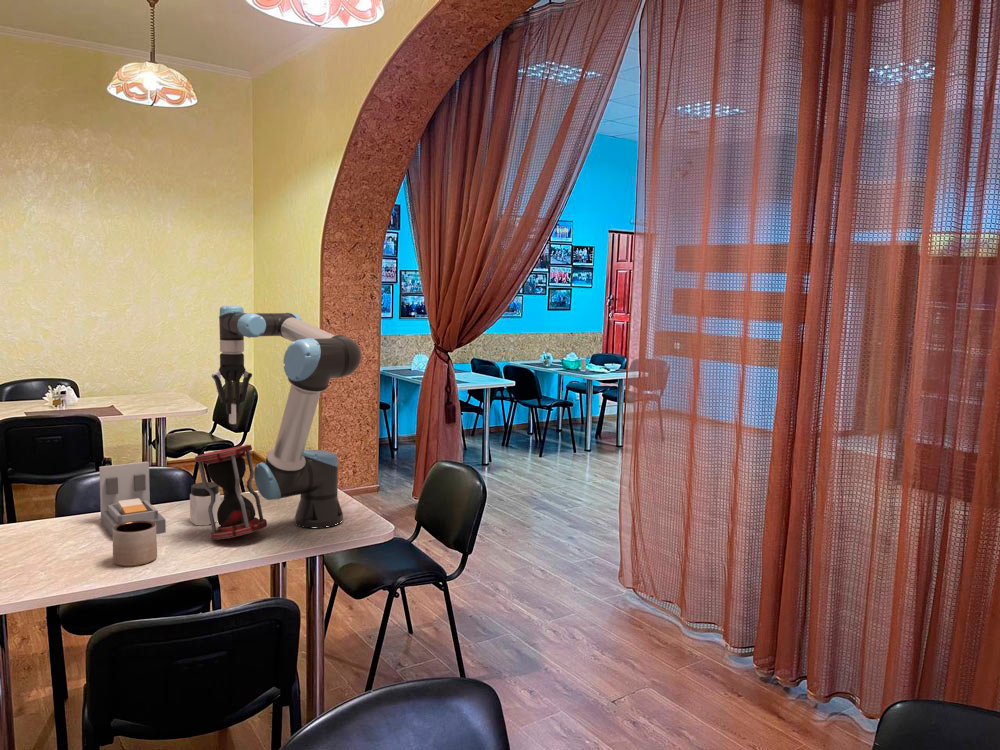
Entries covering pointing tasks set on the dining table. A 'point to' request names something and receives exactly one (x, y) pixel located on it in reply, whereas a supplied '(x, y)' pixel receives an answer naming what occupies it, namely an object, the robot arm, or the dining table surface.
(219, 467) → the hourglass
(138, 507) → the rocker switch
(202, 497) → the jar
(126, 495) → the grey fixture stand
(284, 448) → the robot arm
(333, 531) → the dining table surface
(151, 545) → the planter
